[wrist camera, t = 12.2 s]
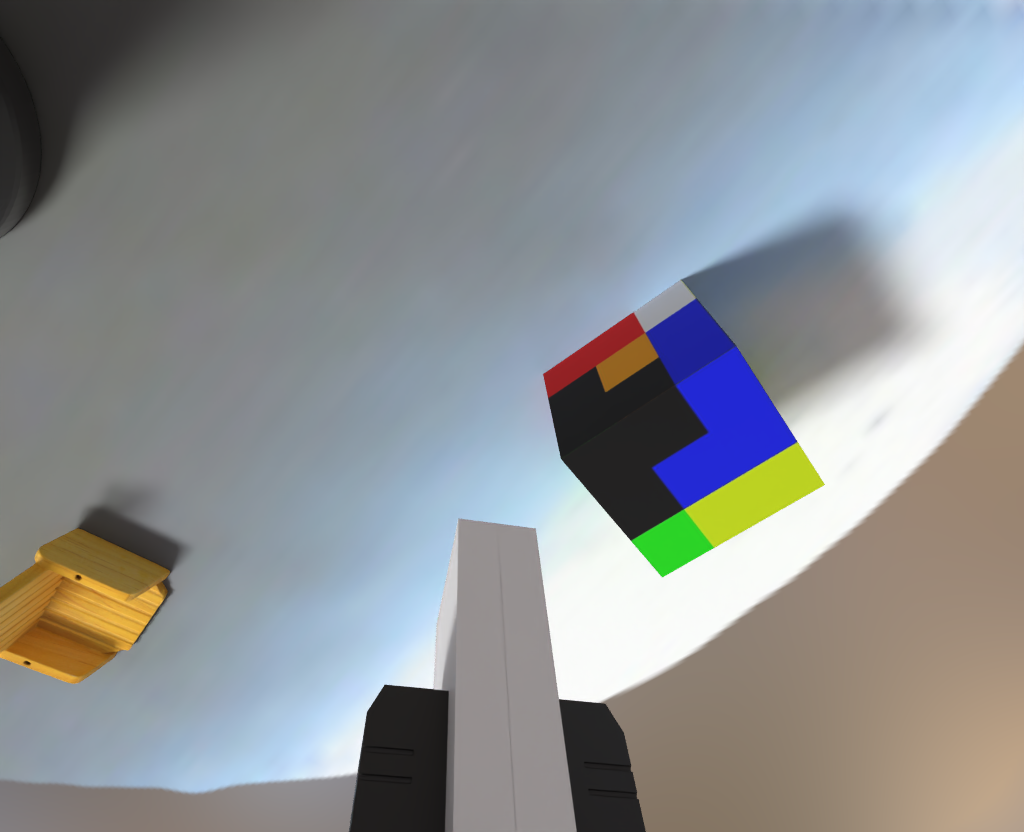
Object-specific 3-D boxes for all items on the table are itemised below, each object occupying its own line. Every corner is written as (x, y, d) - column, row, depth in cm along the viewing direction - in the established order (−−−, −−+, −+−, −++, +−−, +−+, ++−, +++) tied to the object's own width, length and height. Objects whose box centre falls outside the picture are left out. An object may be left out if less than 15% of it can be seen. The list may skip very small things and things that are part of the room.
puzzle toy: (680, 279, 42) (736, 345, 33) (757, 397, 46) (824, 484, 37) (543, 373, 45) (561, 458, 36) (627, 478, 49) (662, 577, 40)
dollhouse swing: (121, 659, 54) (60, 769, 46) (-8, 607, 51) (-97, 715, 43) (181, 572, 51) (127, 676, 43) (46, 510, 48) (-40, 609, 40)
